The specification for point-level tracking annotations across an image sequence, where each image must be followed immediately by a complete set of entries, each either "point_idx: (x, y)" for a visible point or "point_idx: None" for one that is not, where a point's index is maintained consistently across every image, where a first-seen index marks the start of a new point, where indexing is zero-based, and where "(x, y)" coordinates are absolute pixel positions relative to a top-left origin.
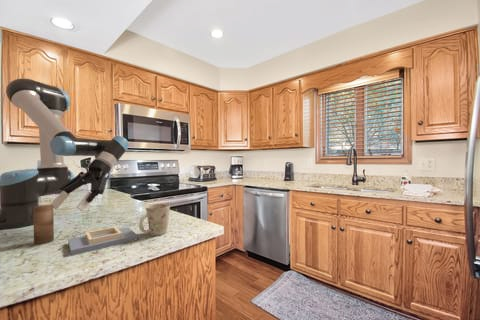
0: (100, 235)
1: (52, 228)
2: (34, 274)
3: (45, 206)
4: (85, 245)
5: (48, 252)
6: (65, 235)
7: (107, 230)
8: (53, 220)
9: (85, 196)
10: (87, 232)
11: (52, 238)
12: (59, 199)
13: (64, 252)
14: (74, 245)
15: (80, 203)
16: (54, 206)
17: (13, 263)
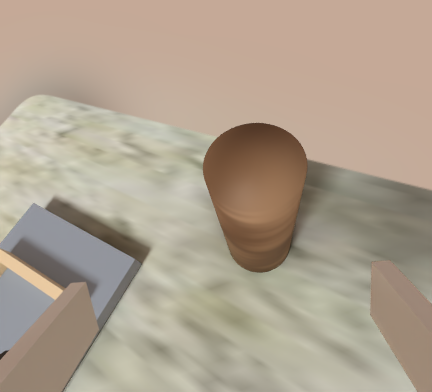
0: None
1: (228, 242)
2: (45, 132)
3: (226, 163)
4: (17, 242)
5: (132, 197)
6: (258, 324)
7: None
8: (237, 242)
9: (14, 358)
10: None
11: (232, 255)
12: (410, 333)
13: (83, 215)
14: (54, 228)
15: (56, 304)
16: (375, 293)
17: (149, 133)
